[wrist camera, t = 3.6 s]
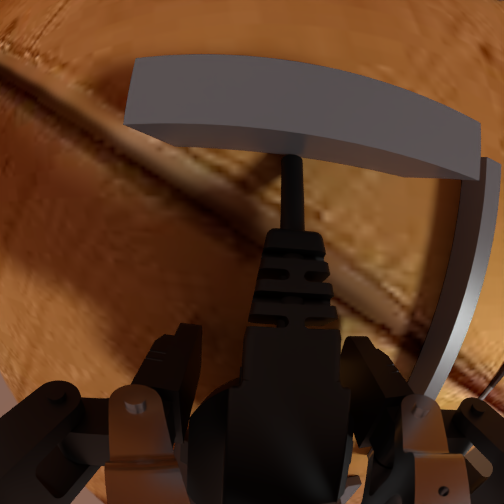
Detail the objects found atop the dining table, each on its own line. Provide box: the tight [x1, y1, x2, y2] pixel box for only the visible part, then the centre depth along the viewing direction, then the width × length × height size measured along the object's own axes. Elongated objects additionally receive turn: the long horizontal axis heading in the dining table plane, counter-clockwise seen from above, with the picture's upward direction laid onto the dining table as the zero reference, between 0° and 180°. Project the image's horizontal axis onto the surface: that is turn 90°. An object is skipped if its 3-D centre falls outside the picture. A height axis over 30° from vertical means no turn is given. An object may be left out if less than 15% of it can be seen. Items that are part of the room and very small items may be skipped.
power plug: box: [180, 154, 354, 504], centre depth 9 cm, size 6×8×12 cm
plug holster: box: [123, 54, 501, 504], centre depth 8 cm, size 17×12×4 cm
